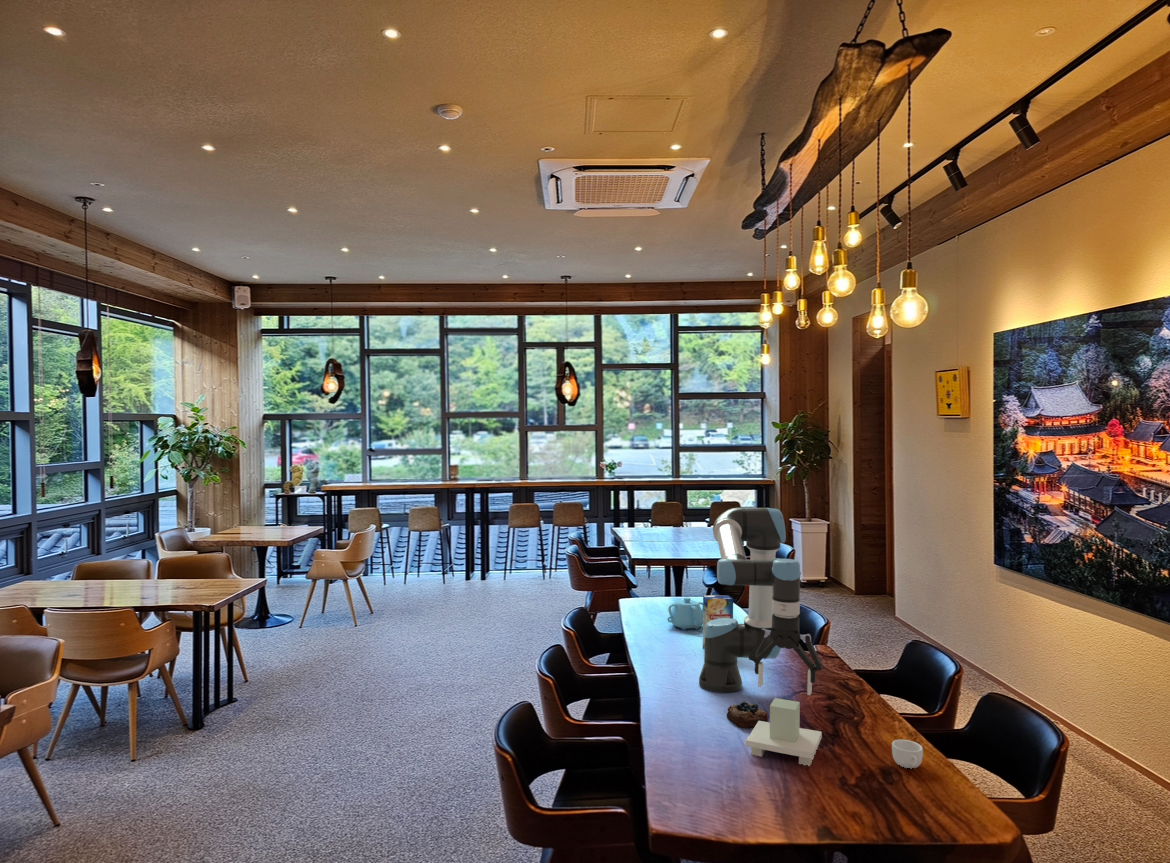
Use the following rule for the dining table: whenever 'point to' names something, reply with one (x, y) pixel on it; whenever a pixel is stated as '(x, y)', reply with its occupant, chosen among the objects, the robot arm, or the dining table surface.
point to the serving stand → (784, 743)
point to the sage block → (784, 720)
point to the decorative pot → (686, 614)
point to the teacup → (907, 753)
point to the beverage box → (716, 609)
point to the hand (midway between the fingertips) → (784, 689)
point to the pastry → (746, 715)
